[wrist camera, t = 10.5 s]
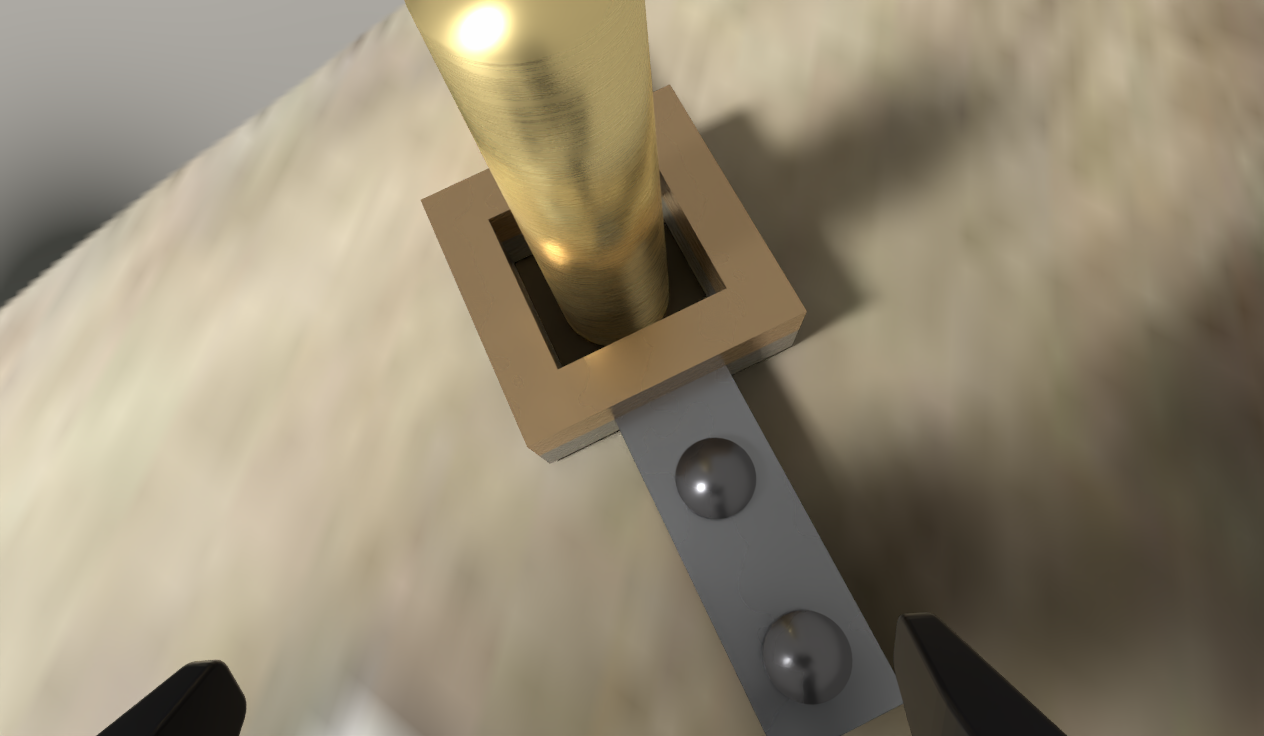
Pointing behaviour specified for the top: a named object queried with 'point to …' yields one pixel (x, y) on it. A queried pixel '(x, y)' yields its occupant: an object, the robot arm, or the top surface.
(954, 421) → the top surface
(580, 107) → the brass pin
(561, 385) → the square frame with handle
